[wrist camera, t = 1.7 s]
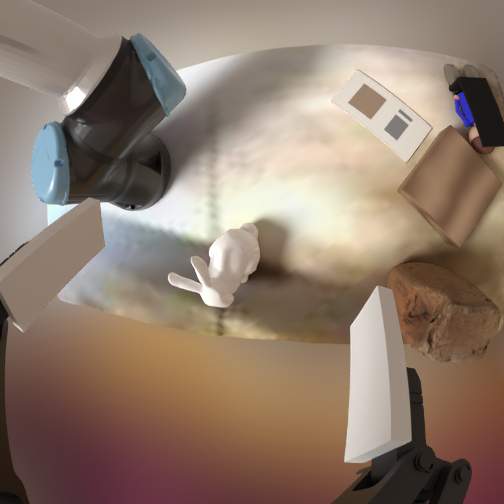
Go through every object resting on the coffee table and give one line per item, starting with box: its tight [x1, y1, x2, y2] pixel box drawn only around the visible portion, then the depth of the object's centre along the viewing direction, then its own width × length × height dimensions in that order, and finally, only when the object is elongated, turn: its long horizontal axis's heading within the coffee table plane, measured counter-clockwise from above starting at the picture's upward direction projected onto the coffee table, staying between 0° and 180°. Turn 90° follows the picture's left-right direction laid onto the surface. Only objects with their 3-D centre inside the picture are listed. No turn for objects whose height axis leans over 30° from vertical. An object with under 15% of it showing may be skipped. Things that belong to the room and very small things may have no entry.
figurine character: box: [444, 64, 504, 155], centre depth 27 cm, size 7×8×15 cm
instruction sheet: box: [330, 70, 432, 162], centre depth 35 cm, size 15×8×1 cm, turn 51°
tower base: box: [397, 125, 501, 248], centre depth 31 cm, size 12×13×5 cm
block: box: [386, 262, 501, 363], centre depth 28 cm, size 11×8×20 cm
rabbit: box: [168, 223, 260, 307], centre depth 40 cm, size 12×9×12 cm
